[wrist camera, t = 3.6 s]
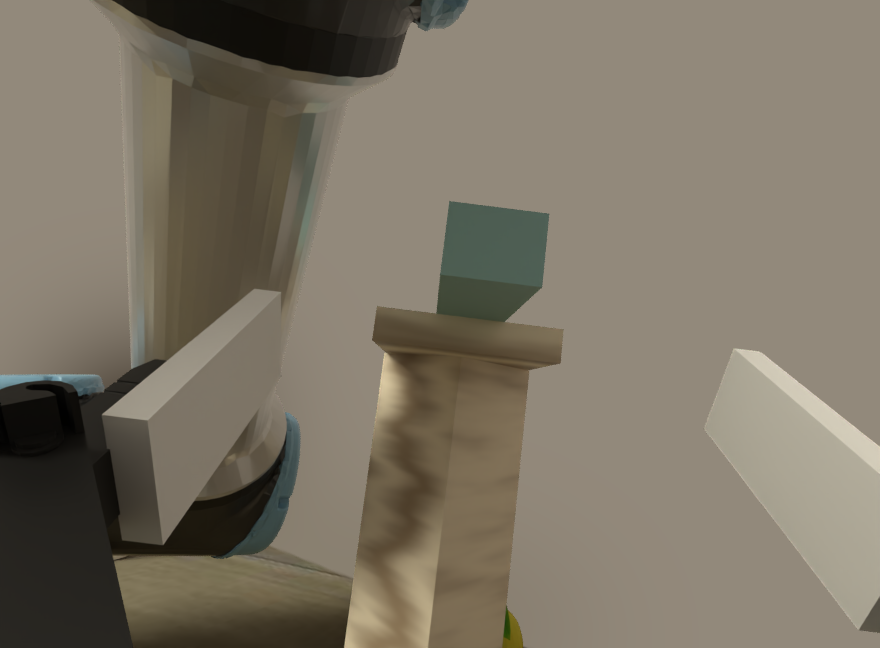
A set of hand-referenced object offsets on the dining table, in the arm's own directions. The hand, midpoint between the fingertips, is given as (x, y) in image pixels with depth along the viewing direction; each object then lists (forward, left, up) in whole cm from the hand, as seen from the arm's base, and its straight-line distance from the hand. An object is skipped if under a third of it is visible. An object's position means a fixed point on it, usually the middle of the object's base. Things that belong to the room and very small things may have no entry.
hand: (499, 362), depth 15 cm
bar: (-12, +12, +3) cm, 18 cm away
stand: (-17, +17, -27) cm, 35 cm away
